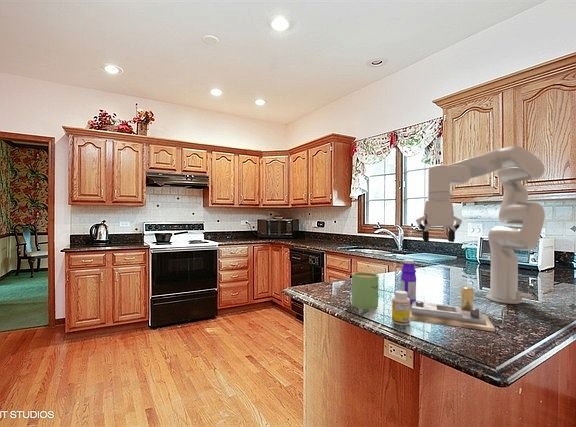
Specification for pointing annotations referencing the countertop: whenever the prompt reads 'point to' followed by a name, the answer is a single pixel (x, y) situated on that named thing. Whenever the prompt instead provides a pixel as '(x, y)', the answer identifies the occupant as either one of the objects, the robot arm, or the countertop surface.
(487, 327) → the board
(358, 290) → the mug
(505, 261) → the robot arm
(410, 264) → the bottle
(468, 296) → the pin
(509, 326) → the countertop surface
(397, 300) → the supplement bottle
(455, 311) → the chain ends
